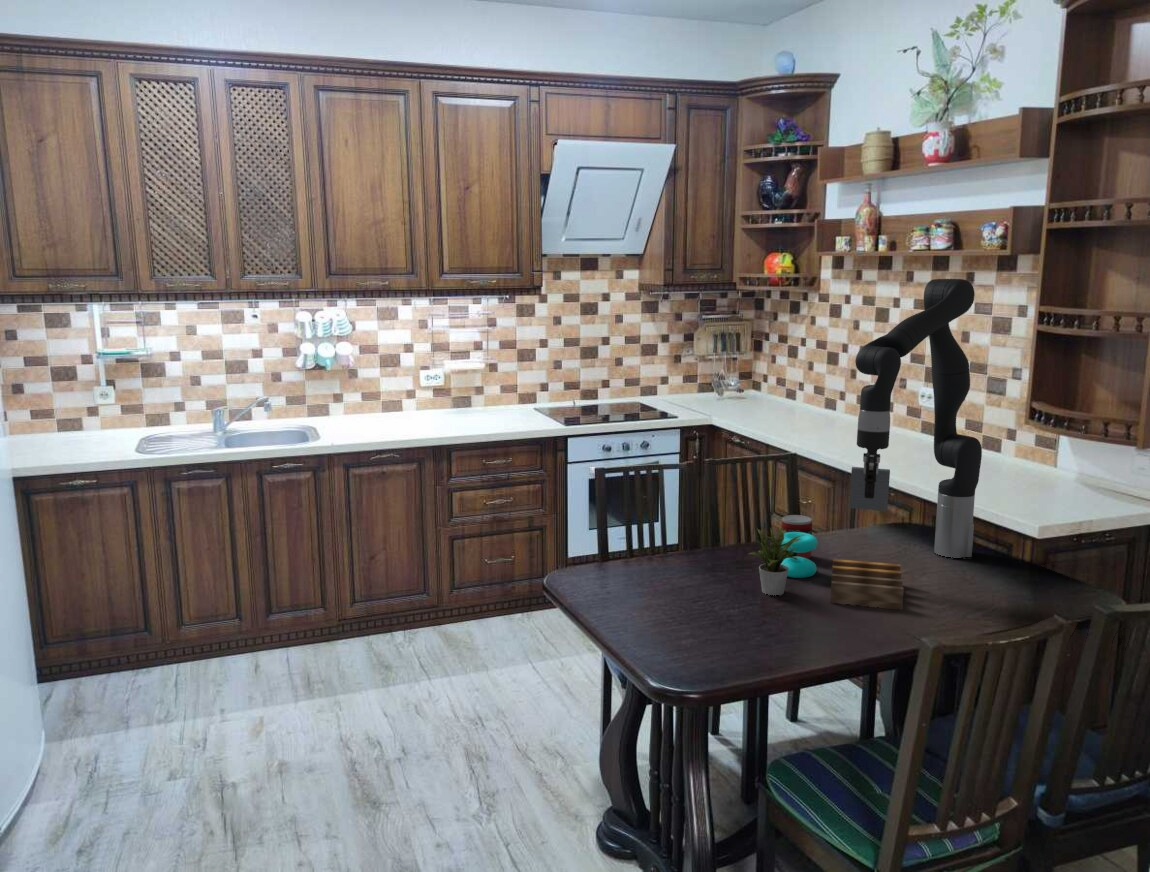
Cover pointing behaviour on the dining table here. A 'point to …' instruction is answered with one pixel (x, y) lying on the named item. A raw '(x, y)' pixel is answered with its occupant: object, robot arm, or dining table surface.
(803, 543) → the turquoise curved double lobe
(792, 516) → the canned food
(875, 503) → the metal panel
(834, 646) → the dining table surface
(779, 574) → the house plant
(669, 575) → the dining table surface
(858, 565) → the slotted rack
